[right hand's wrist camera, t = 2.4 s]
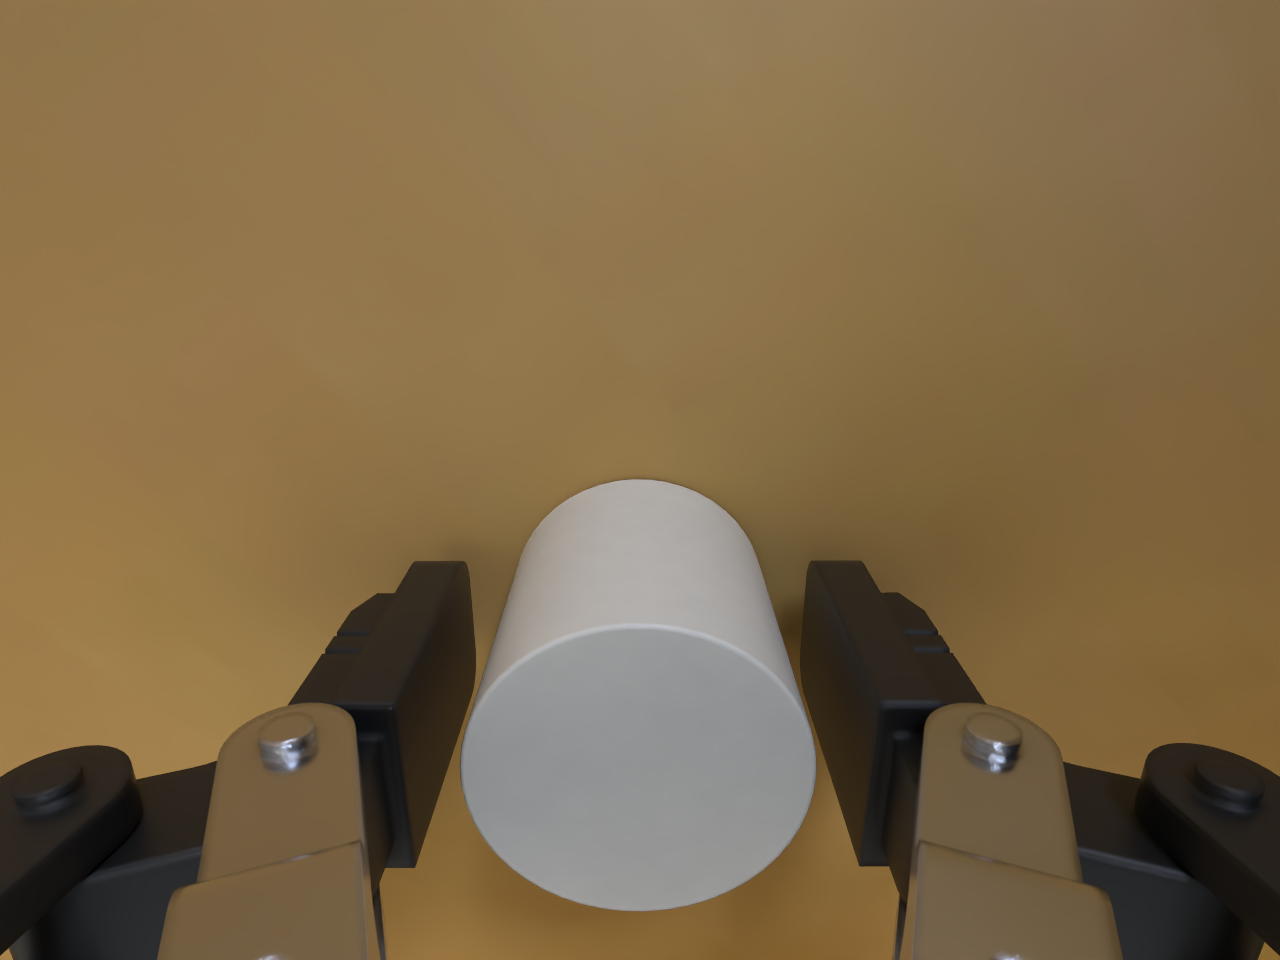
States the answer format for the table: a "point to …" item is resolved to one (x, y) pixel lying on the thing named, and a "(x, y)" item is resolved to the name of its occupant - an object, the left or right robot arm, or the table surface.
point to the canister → (638, 707)
